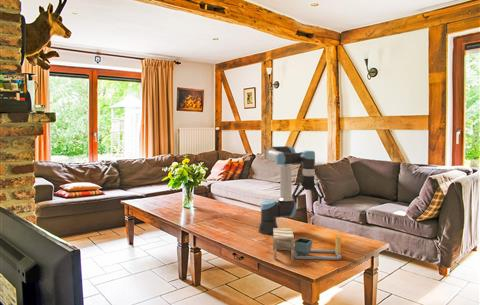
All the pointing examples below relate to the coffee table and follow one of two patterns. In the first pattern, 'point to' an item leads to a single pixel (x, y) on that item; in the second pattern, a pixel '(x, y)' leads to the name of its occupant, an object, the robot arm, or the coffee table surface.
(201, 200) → the coffee table surface
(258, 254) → the coffee table surface
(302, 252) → the flower pot
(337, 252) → the frame with square tube
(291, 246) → the shelf
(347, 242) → the coffee table surface
